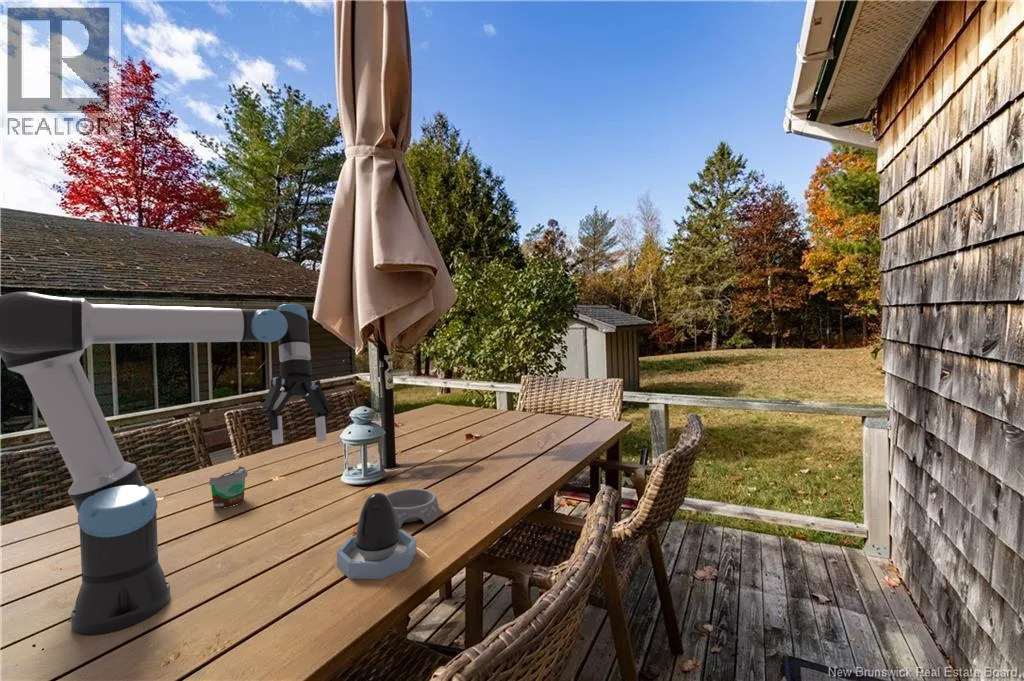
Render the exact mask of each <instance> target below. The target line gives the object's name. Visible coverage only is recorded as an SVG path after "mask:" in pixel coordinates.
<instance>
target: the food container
mask: <svg viewBox="0 0 1024 681" xmlns="http://www.w3.org/2000/svg"><path fill="white" fill-rule="evenodd" d="M247 477H248V471H247V469H246V467H245V466H242V465H241V466H238V468H237V469H235V470H234V471H229V472H226V473H224V474H221V475H220V476H218V477H209V482H208V485H209V486H210V488H211V489H210V490H211V496H212V504H213V509H214V508H224V507H229V508H231V507H230V506H233V505H236V504H239V503H241V502H242V501H243V500H244V501H245V489H246V486H245V485H246V478H247ZM244 501H243V502H244ZM243 502H242V503H243ZM242 503H241V504H242ZM239 505H240V504H239ZM236 506H237V505H236ZM233 507H234V506H233ZM224 509H225V508H224Z"/></svg>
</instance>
